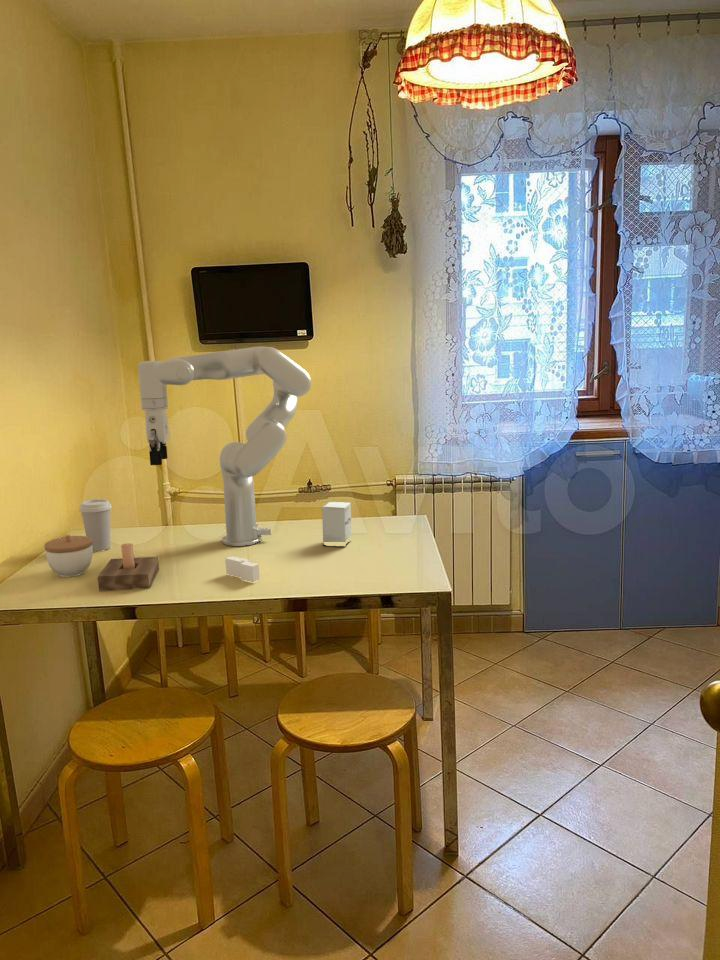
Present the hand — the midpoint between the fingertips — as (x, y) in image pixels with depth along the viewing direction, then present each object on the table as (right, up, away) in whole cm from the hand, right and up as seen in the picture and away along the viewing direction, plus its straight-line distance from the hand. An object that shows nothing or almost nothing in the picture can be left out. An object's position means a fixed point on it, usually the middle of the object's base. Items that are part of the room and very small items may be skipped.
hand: (159, 461), depth 222 cm
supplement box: (+52, -25, +12) cm, 59 cm away
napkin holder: (+27, -33, -18) cm, 46 cm away
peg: (-3, -33, -17) cm, 37 cm away
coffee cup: (-22, -27, +13) cm, 37 cm away
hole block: (-3, -33, -17) cm, 37 cm away
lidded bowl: (-22, -32, -10) cm, 40 cm away
